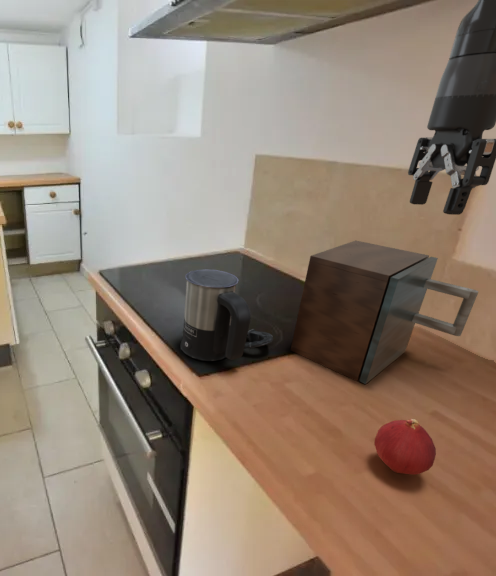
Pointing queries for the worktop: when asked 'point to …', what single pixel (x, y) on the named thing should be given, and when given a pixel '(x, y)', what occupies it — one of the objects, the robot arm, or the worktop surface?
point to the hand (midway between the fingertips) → (433, 208)
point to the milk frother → (217, 318)
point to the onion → (405, 447)
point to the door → (410, 315)
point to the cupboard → (346, 303)
